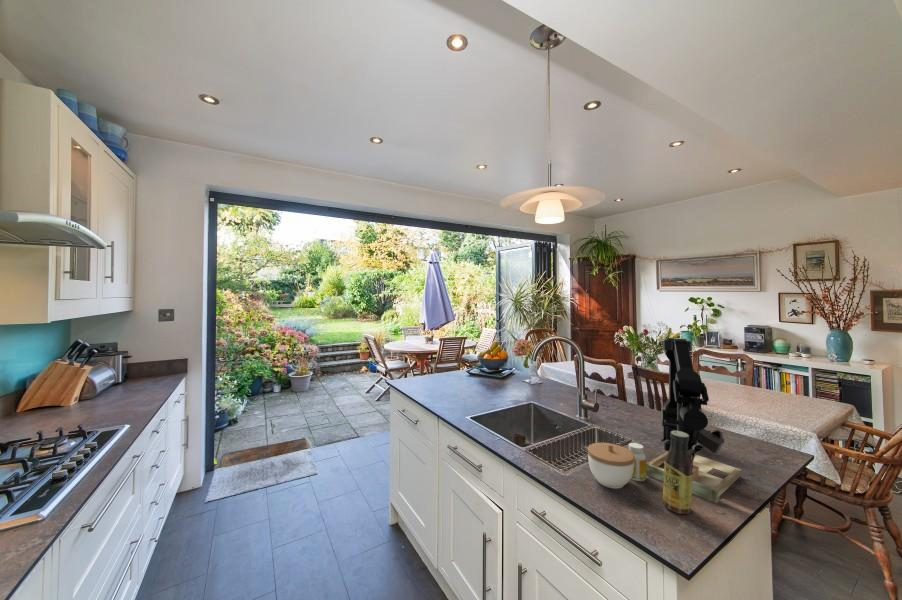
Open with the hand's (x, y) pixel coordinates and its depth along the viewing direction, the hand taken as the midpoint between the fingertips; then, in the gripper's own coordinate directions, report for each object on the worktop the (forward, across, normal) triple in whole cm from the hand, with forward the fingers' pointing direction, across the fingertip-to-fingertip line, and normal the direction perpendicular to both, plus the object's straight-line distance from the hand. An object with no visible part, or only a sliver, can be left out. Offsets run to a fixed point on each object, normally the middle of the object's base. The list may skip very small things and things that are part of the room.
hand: (688, 469), depth 104 cm
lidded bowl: (+2, -23, +12) cm, 26 cm away
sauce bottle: (+2, -21, -5) cm, 21 cm away
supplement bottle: (+2, -14, +9) cm, 16 cm away
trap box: (+2, +3, -1) cm, 4 cm away
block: (+1, -5, 0) cm, 5 cm away
